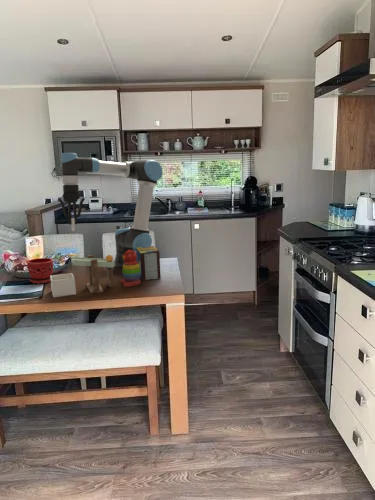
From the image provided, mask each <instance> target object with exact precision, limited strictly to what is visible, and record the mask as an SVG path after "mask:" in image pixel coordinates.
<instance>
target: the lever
mask: <svg viewBox="0 0 375 500" xmlns="http://www.w3.org/2000/svg"><path fill="white" fill-rule="evenodd" d="M67 256H68V258H70V259H71V260H70V262H71V263H72V266H79V267H81V266H83V267H84V266H85V267H86V266H87V267H88V266H91V260H95V259H97V263H98V268H100V267H101V268H102V267H103V268H105V269H107V268H112V269H114V268H115V266H114V264H115V262H114V261H115V260H112V261H111V262H108V261H106V258H96V257H94V258H88V257H80V256H79V257H78V254H76V253H68V254H67Z"/></svg>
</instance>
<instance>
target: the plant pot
mask: <svg viewBox="0 0 375 500" xmlns="http://www.w3.org/2000/svg"><path fill="white" fill-rule="evenodd" d="M26 266H27V271H28V274H29V276H30V278H29V281H30V283H32V284H35V283H37V284H36V285H38V284H39V285H40V283H41V284H45V283H49V282H51V280H50V276H52V275H53V272H54V259H52V258H47V257H40V258H39V257H38V258H33V259H32V258H31V259H29V260H27V262H26Z"/></svg>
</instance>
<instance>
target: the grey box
mask: <svg viewBox="0 0 375 500" xmlns="http://www.w3.org/2000/svg"><path fill="white" fill-rule="evenodd" d="M75 279H76V278H75V276H74V274H73V273H72V272H70V273H69V272H68V273H60V274H54V275H53V274H52V275H51V276H50V280H51V281H50V287H51V294H52V297H53V298H59V297H66V296H73V295H77V291H76V280H75Z"/></svg>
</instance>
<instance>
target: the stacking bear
mask: <svg viewBox="0 0 375 500" xmlns="http://www.w3.org/2000/svg"><path fill="white" fill-rule="evenodd" d="M122 258H123V260H124V261H125V262H124V264H123V268H122V270H121V271H122V276H123V278H122V279H120V281H119V282H120V284H123V287H125V288H130V286H131V287H135V286H138V285H140V284H142V283H141V282H142V280H141V278H140V273H141V271H140V266H139V263H138V262H137V261H136V258H137V254H136V252H135V251H133V250H128V251H126V252H125V253H124V255H123V257H122Z"/></svg>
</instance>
